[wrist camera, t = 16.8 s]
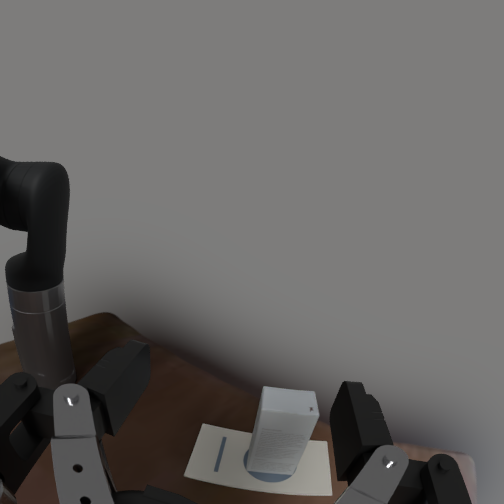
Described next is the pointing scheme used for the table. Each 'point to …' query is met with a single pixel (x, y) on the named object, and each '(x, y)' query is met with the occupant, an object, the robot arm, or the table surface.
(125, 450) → the table surface
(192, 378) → the table surface
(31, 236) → the robot arm
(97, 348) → the table surface
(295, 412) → the skincare box
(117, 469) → the table surface
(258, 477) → the paper sheet
